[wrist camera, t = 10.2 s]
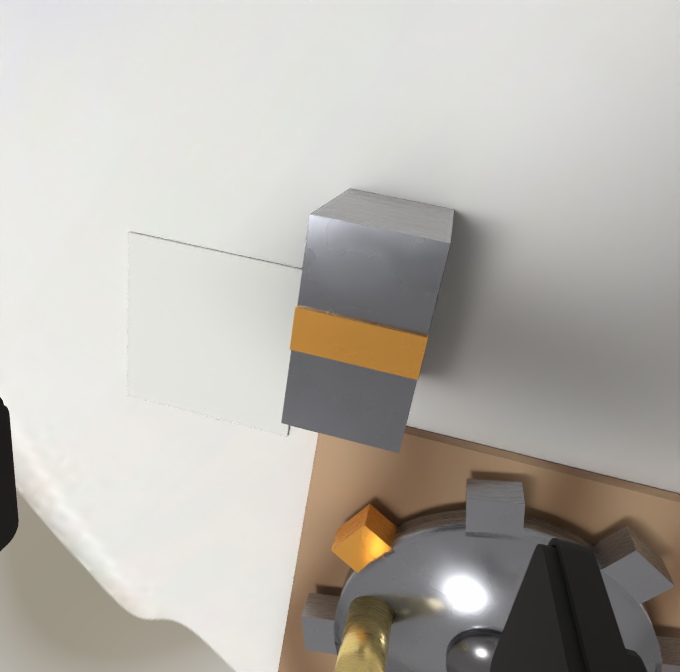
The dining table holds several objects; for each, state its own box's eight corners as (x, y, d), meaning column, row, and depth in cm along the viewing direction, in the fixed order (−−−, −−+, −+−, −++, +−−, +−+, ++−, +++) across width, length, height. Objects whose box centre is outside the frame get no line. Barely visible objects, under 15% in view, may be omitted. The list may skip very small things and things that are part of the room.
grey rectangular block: (455, 209, 21) (451, 244, 15) (414, 374, 23) (398, 456, 18) (349, 188, 21) (307, 215, 15) (322, 352, 24) (279, 425, 18)
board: (779, 519, 22) (793, 536, 21) (619, 779, 29) (624, 801, 29) (325, 405, 25) (319, 417, 24) (279, 672, 32) (274, 688, 31)
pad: (311, 270, 22) (310, 272, 22) (287, 435, 26) (286, 436, 26) (130, 231, 23) (128, 232, 23) (129, 394, 27) (127, 395, 27)
